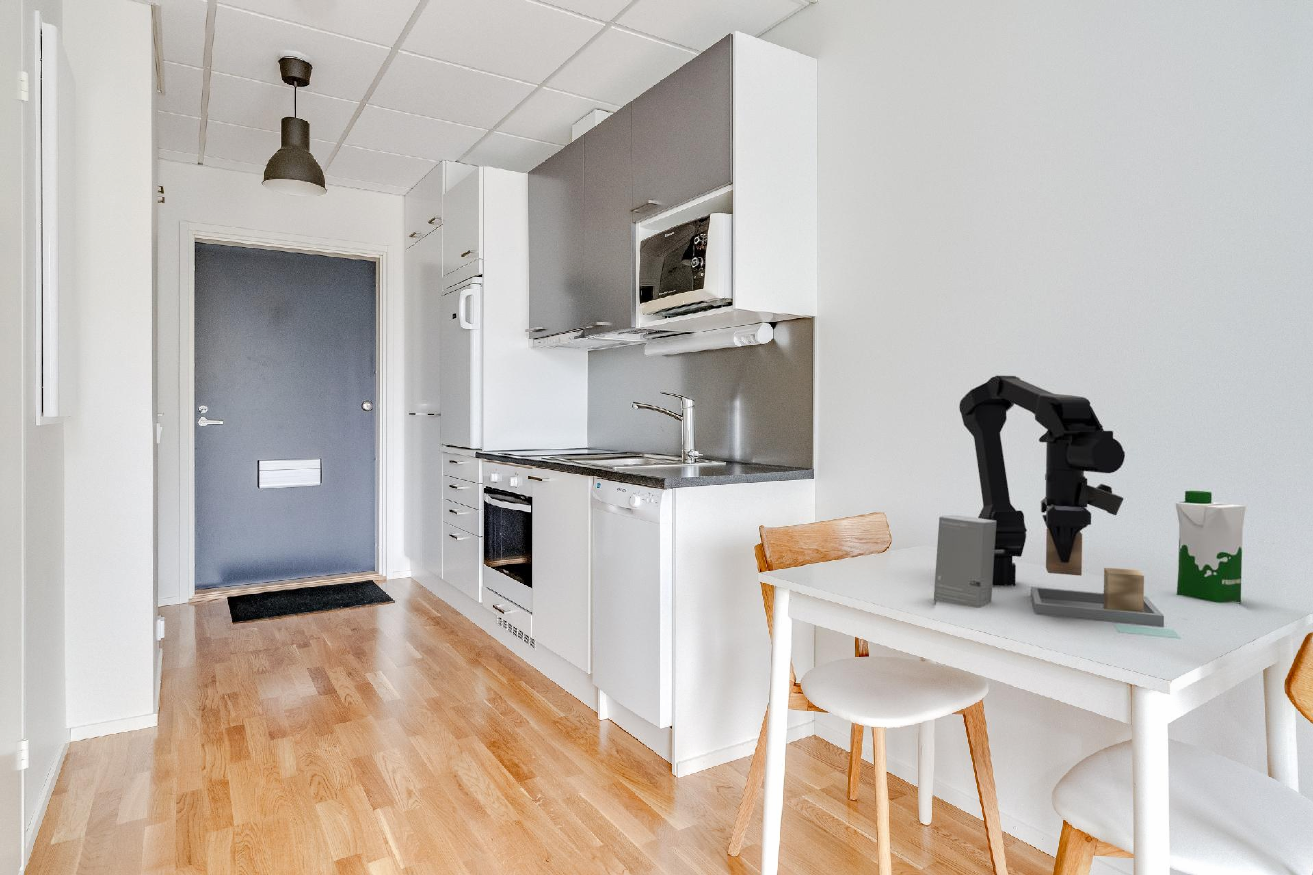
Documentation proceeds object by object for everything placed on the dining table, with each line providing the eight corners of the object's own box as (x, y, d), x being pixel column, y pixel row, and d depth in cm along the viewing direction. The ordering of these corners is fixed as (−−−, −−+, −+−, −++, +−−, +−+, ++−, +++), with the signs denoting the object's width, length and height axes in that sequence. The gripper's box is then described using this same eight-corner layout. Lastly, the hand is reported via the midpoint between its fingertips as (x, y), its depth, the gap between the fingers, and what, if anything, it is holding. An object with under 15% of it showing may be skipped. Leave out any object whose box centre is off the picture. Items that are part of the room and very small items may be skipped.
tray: (1034, 618, 123) (1035, 603, 123) (1030, 600, 136) (1030, 586, 136) (1163, 631, 116) (1163, 615, 116) (1146, 610, 128) (1146, 596, 128)
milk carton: (1197, 593, 142) (1199, 489, 142) (1250, 604, 134) (1253, 494, 133) (1168, 597, 139) (1170, 491, 138) (1221, 608, 130) (1223, 495, 130)
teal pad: (1118, 636, 113) (1118, 631, 113) (1113, 628, 117) (1113, 623, 117) (1181, 643, 109) (1181, 638, 109) (1173, 634, 114) (1173, 629, 114)
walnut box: (1047, 572, 126) (1048, 531, 126) (1045, 567, 131) (1046, 527, 130) (1081, 575, 124) (1082, 532, 124) (1078, 570, 129) (1078, 529, 128)
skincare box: (933, 604, 132) (934, 516, 132) (948, 597, 138) (949, 512, 137) (981, 612, 127) (983, 520, 126) (995, 605, 132) (997, 517, 132)
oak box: (1107, 614, 123) (1108, 572, 123) (1103, 607, 127) (1104, 567, 127) (1143, 618, 121) (1144, 575, 120) (1137, 611, 125) (1138, 570, 125)
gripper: (1129, 474, 115) (1127, 573, 115) (1111, 468, 132) (1109, 554, 132) (1048, 472, 120) (1047, 567, 120) (1041, 466, 137) (1039, 550, 137)
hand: (1063, 559), depth 127 cm, fingers closed on walnut box, 5 cm apart
